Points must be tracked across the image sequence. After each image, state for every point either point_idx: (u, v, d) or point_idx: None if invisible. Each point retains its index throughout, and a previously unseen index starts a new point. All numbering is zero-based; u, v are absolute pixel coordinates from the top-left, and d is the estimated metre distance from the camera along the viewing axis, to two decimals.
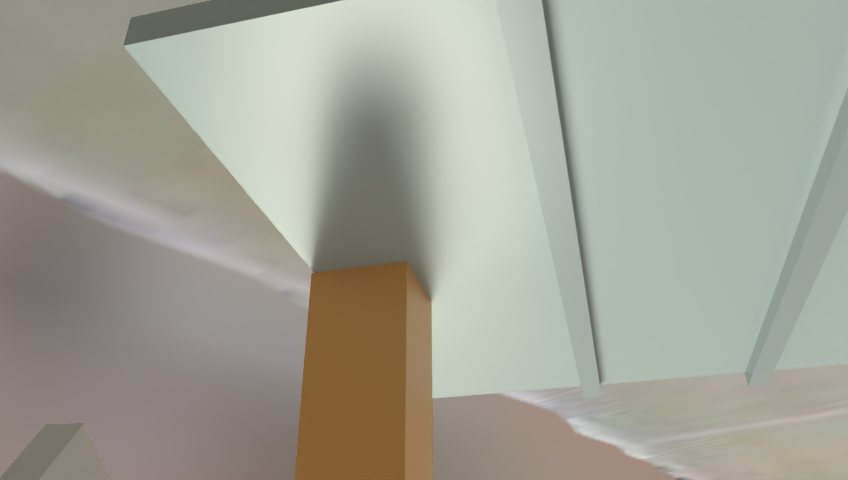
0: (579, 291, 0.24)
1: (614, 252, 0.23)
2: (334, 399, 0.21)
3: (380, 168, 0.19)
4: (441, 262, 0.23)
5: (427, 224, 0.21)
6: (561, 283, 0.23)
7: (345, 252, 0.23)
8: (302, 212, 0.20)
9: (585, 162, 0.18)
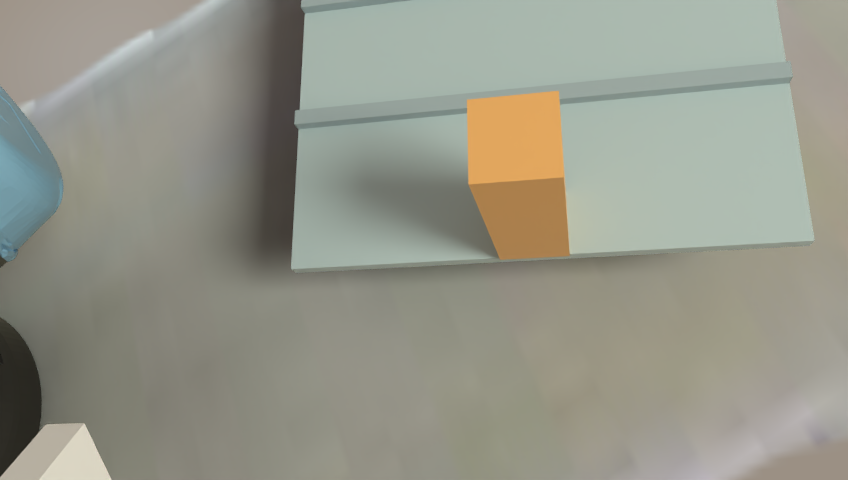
0: (540, 89, 0.36)
1: (515, 75, 0.37)
2: None
3: (397, 189, 0.36)
4: None
5: (457, 176, 0.36)
6: None
7: (477, 230, 0.35)
8: (426, 240, 0.35)
9: (418, 95, 0.38)
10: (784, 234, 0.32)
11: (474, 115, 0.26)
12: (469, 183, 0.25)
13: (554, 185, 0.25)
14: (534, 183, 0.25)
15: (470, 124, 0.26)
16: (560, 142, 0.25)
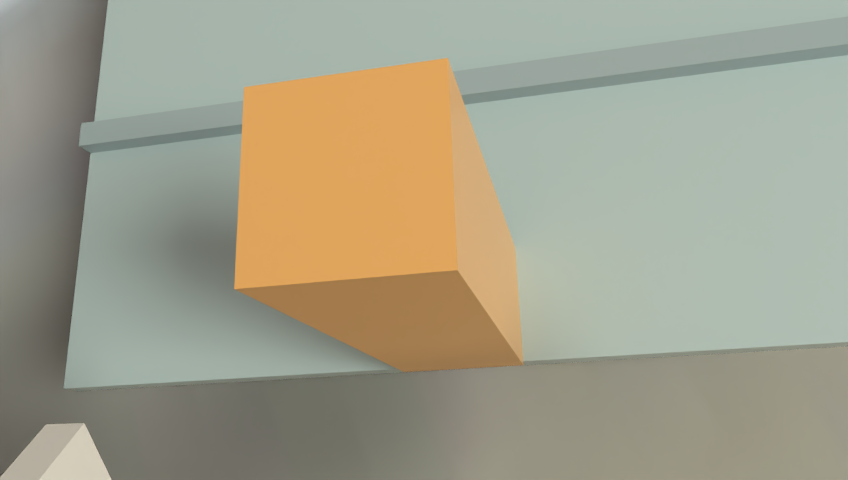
0: (469, 75, 0.21)
1: (430, 55, 0.22)
2: None
3: None
4: None
5: None
6: None
7: None
8: (282, 338, 0.21)
9: None
10: None
11: (258, 122, 0.11)
12: (237, 286, 0.10)
13: (443, 283, 0.10)
14: (392, 282, 0.10)
15: (248, 144, 0.11)
16: (450, 181, 0.10)
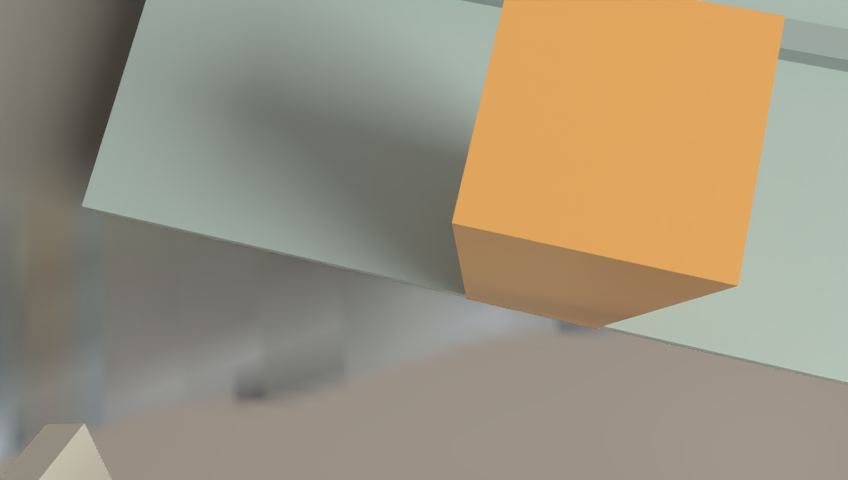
0: None
1: None
2: None
3: (313, 111, 0.19)
4: None
5: (429, 117, 0.19)
6: None
7: (440, 230, 0.18)
8: (342, 224, 0.19)
9: None
10: None
11: (521, 20, 0.09)
12: (455, 220, 0.08)
13: (691, 285, 0.09)
14: (640, 269, 0.08)
15: (503, 43, 0.09)
16: (753, 174, 0.08)
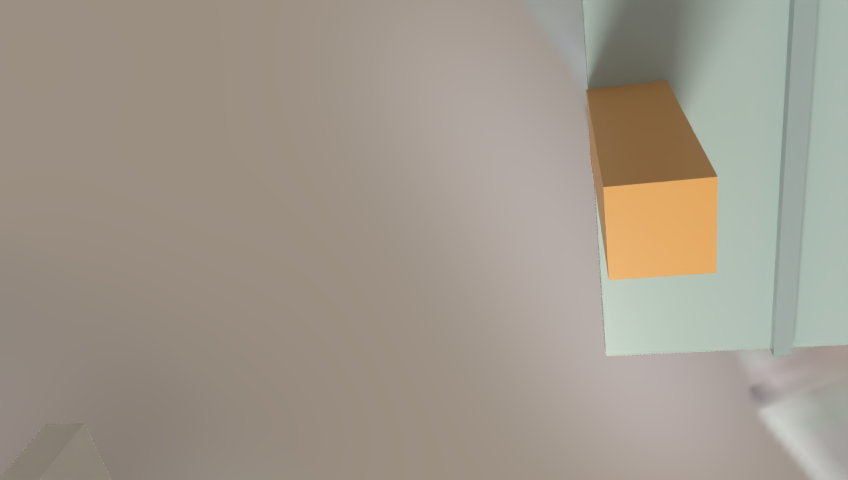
0: (803, 124, 0.29)
1: (834, 86, 0.29)
2: (621, 120, 0.26)
3: None
4: (693, 85, 0.30)
5: (697, 26, 0.29)
6: (791, 108, 0.29)
7: (622, 60, 0.30)
8: None
9: None
10: (612, 336, 0.36)
11: (694, 187, 0.21)
12: (604, 187, 0.22)
13: (606, 260, 0.24)
14: (606, 247, 0.23)
15: (682, 183, 0.21)
16: (650, 276, 0.23)
